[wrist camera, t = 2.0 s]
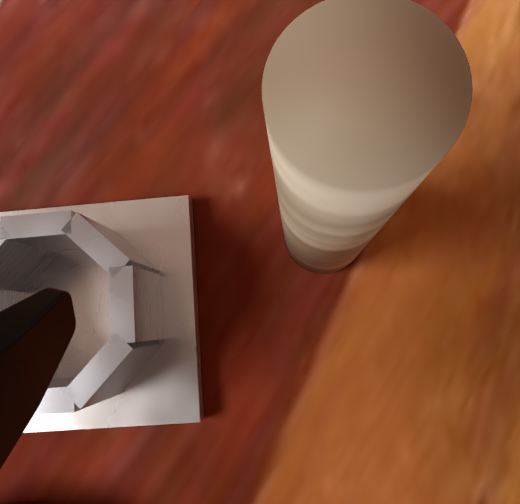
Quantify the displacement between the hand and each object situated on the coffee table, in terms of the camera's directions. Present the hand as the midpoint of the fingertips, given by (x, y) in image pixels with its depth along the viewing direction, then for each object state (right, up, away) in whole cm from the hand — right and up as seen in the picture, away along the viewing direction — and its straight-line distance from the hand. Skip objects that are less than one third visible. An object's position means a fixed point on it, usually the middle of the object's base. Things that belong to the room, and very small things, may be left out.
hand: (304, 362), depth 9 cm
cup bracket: (-8, -1, +12) cm, 14 cm away
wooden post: (+2, +3, +12) cm, 12 cm away
